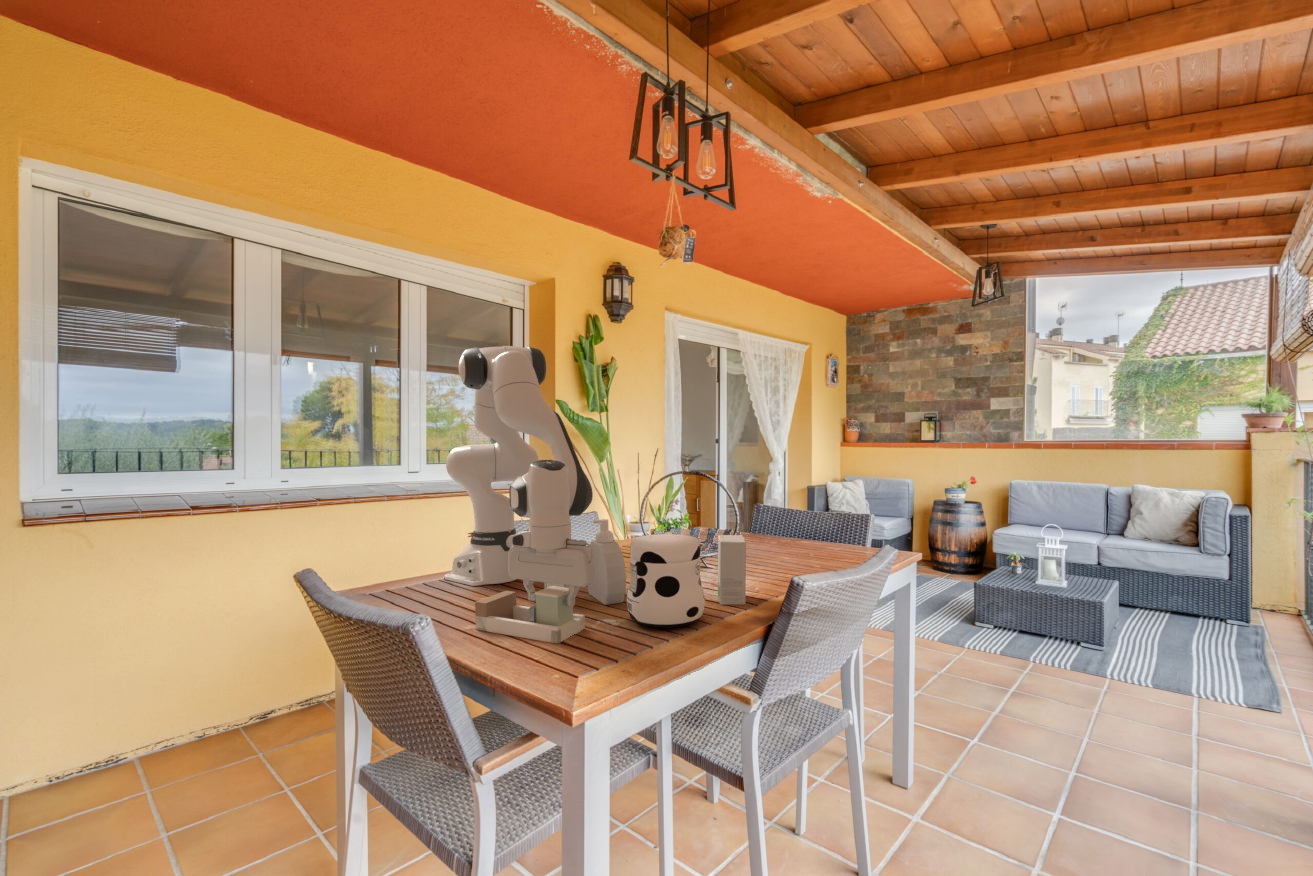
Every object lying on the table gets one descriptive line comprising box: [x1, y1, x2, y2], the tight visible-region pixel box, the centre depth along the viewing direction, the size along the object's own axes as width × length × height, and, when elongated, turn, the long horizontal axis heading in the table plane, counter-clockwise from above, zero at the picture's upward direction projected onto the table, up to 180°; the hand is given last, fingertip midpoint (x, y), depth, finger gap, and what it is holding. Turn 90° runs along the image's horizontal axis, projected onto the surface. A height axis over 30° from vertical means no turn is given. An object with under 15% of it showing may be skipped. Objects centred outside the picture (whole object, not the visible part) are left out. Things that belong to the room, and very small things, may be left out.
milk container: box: [626, 533, 706, 629], centre depth 136 cm, size 17×17×18 cm
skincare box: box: [717, 534, 747, 606], centre depth 151 cm, size 8×7×16 cm
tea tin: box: [535, 586, 574, 627], centre depth 129 cm, size 6×6×9 cm
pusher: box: [523, 604, 536, 623], centre depth 131 cm, size 4×7×6 cm, turn 153°
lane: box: [474, 590, 586, 645], centre depth 132 cm, size 22×10×6 cm, turn 63°
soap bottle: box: [586, 518, 627, 606], centre depth 155 cm, size 16×5×20 cm, turn 26°
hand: (551, 603), depth 129 cm, fingers open, 8 cm apart
